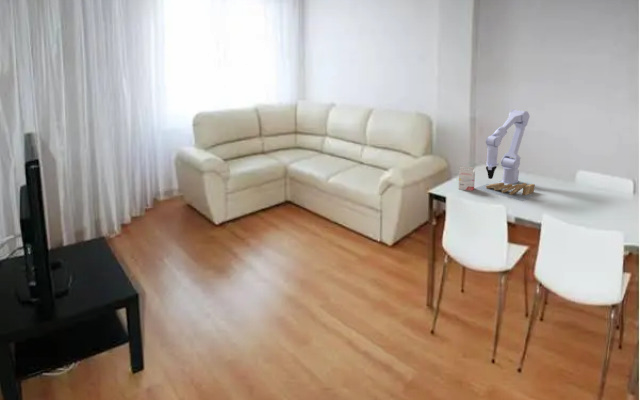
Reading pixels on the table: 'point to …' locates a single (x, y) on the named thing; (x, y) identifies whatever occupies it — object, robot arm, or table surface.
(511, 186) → the domino
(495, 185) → the domino
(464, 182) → the ink cartridge box
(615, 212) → the table surface
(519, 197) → the mat
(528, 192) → the loose domino
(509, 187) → the domino
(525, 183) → the domino
